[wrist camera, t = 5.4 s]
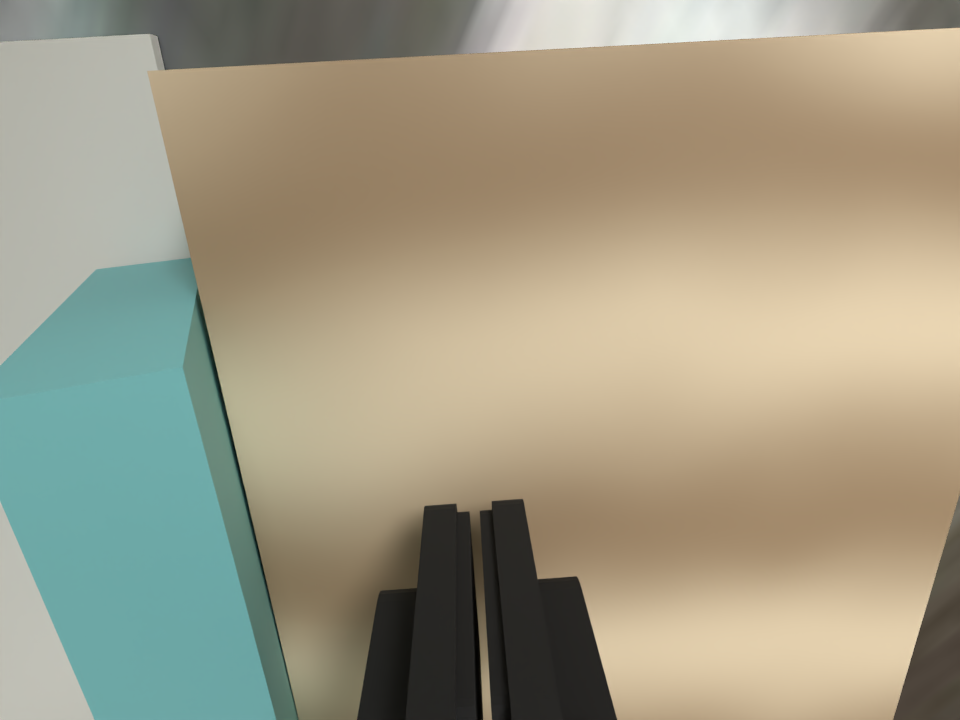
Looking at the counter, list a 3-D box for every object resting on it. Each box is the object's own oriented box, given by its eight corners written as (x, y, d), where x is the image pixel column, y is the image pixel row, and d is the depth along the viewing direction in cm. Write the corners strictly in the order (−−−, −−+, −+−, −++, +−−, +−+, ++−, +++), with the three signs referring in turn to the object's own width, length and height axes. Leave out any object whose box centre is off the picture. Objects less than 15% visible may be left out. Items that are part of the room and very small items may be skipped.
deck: (246, 89, 12) (147, 71, 8) (896, 54, 12) (1099, 19, 8) (352, 679, 17) (324, 827, 14) (784, 649, 18) (872, 788, 14)
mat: (-431, 67, 11) (-455, 65, 11) (157, 36, 11) (149, 34, 11) (-60, 732, 18) (-68, 742, 17) (307, 707, 18) (304, 716, 18)
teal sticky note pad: (203, 256, 12) (95, 269, 12) (181, 367, 6) (-42, 407, 6) (287, 615, 16) (209, 641, 16) (324, 901, 10) (199, 962, 9)
